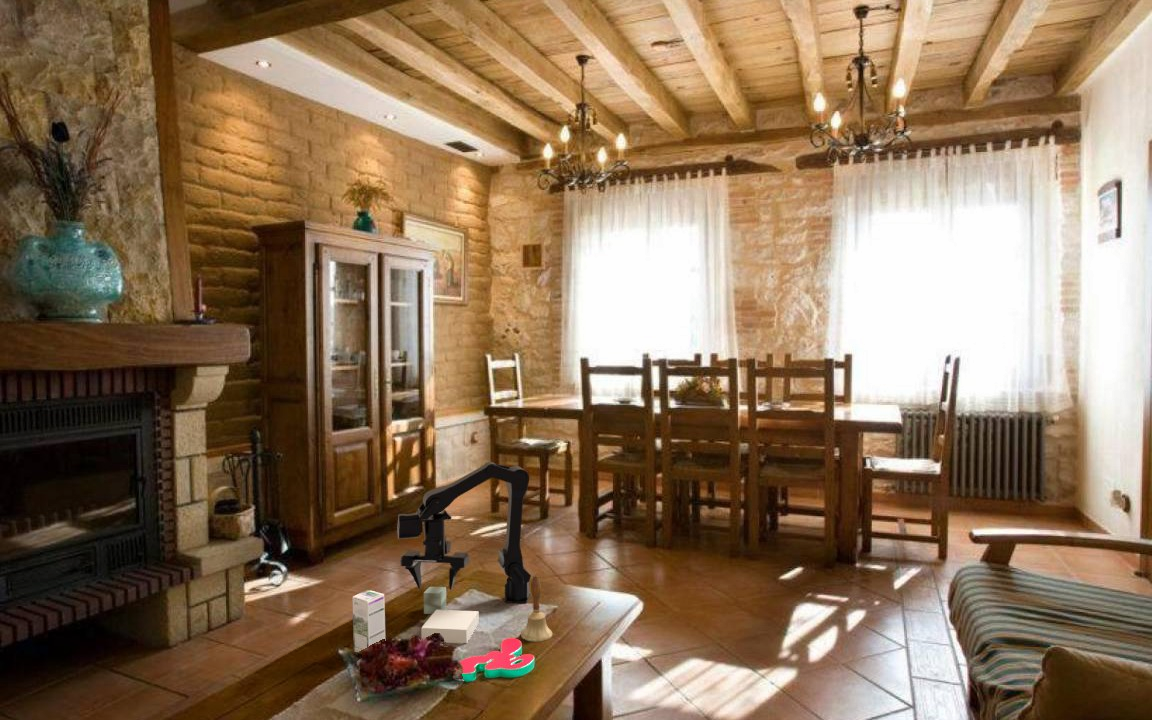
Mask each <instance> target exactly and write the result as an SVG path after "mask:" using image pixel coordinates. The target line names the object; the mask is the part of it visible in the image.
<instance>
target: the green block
mask: <svg viewBox="0 0 1152 720" xmlns="http://www.w3.org/2000/svg"><path fill="white" fill-rule="evenodd" d="M446 608H447V587H445V586H444V587H443V586H429V587H428V588H427V589H426V590H425V591H424V592H423V614H425V615H426V614H427V615H432V614H433V613H434V612H435V611H436V610H447V609H446Z"/></svg>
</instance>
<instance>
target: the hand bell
mask: <svg viewBox="0 0 1152 720" xmlns="http://www.w3.org/2000/svg"><path fill="white" fill-rule="evenodd" d="M541 586H542V585H541V582H540V578H539V575H537V574H534V575H532V580H531V583H530V589H531V590H530V591H531V596H532V599H533V602H532V605H533V606H532V608H533V609H532V610H533V611H532V612H530V613H529V614H528V616H527V623H526V626H525V628H524V629H523V630H522V632H521V634H520V636H521V637H520V638H522V639H523V640H524V639H525V640H524V641H527V642H530V641H531V642H534V643H539V642H545V641H547V640H550V639H551V638H552V637H553V631H552V630H551V629H550V628H549V627H548V625H547V621H546V614H545V613H544V612H542V611H541V608H540V596H541V591H542V587H541Z"/></svg>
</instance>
